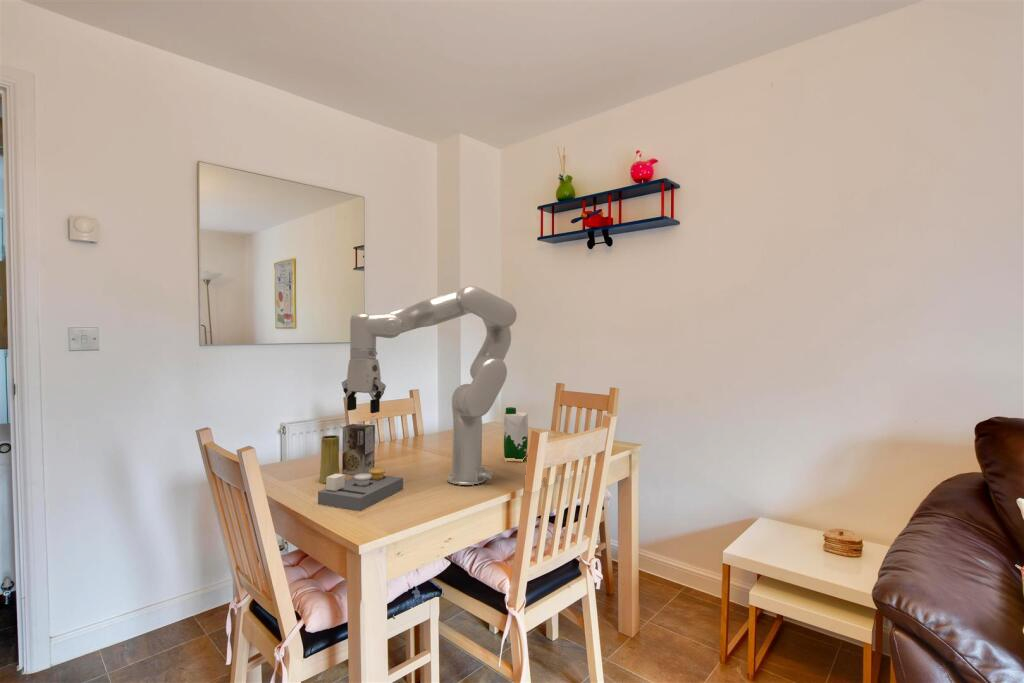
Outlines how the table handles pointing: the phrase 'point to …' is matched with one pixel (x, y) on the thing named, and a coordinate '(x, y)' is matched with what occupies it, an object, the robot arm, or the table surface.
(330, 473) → the vase
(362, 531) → the table surface
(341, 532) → the table surface
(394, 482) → the panel
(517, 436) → the milk carton
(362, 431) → the coffee box
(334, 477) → the white block
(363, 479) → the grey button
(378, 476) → the amber button
